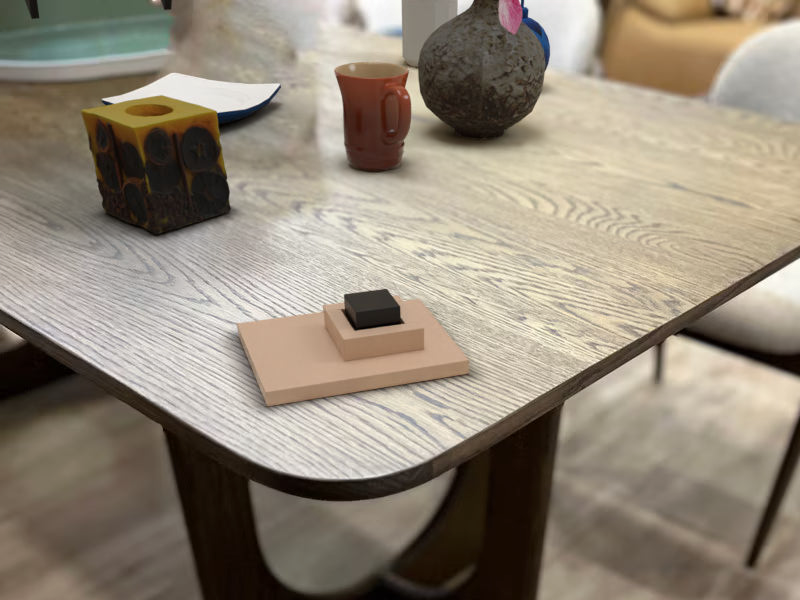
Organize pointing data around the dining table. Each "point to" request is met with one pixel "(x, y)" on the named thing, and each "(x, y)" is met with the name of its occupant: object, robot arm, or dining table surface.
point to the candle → (158, 162)
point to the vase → (482, 69)
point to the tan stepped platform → (347, 353)
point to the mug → (374, 113)
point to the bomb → (537, 32)
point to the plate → (207, 95)
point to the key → (372, 309)
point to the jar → (423, 24)
